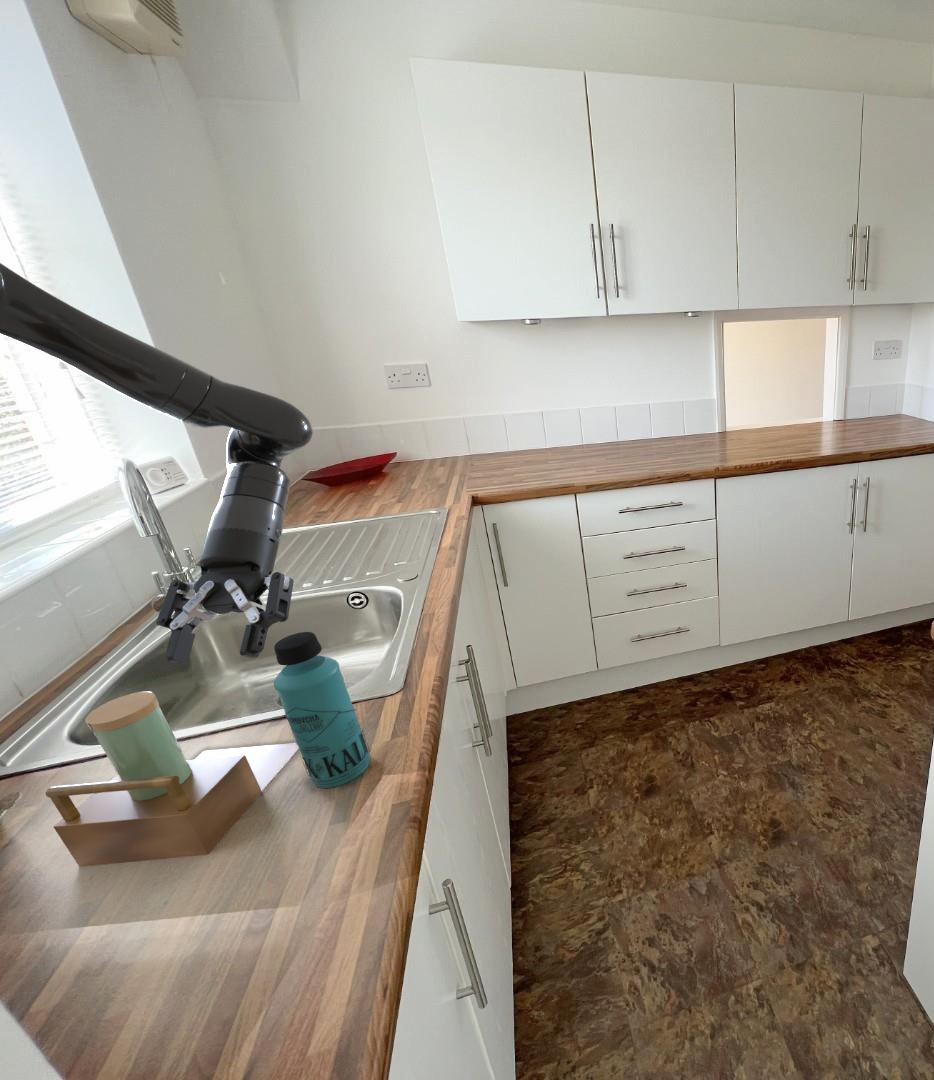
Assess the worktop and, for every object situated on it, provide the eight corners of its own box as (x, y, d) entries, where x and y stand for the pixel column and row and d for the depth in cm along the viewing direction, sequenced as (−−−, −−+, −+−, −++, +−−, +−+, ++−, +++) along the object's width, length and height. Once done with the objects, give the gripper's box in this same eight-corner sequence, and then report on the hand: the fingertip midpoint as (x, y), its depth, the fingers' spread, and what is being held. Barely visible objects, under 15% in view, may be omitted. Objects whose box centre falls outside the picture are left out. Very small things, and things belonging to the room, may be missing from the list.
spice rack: (85, 876, 61) (32, 796, 57) (208, 759, 76) (173, 690, 72) (213, 864, 61) (170, 783, 57) (309, 750, 77) (280, 681, 73)
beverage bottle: (322, 769, 73) (267, 632, 66) (380, 753, 76) (333, 618, 68) (308, 807, 68) (246, 661, 60) (372, 789, 70) (320, 646, 62)
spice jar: (115, 803, 61) (69, 726, 57) (157, 767, 65) (117, 693, 62) (166, 799, 61) (124, 721, 57) (204, 763, 66) (168, 689, 62)
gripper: (164, 530, 73) (123, 658, 67) (279, 521, 74) (250, 647, 67) (212, 552, 80) (179, 670, 74) (317, 544, 81) (293, 660, 74)
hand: (213, 659), depth 71 cm, fingers open, 8 cm apart
